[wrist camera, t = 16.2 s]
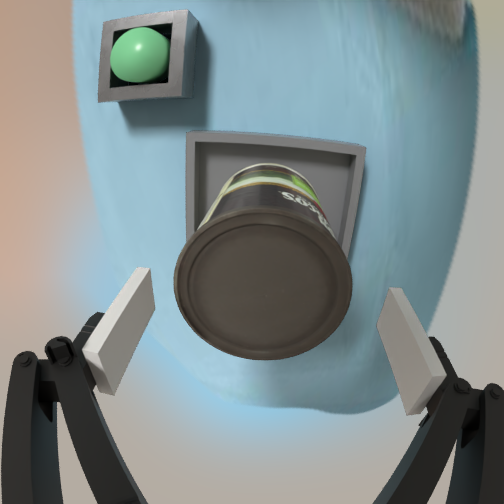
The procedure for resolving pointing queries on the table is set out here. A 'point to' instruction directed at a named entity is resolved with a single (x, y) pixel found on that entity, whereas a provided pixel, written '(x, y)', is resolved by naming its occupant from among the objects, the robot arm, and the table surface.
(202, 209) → the shallow gray tray
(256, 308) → the coffee can
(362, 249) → the table surface
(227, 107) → the table surface
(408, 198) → the table surface
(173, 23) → the button housing
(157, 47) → the button
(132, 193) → the table surface
